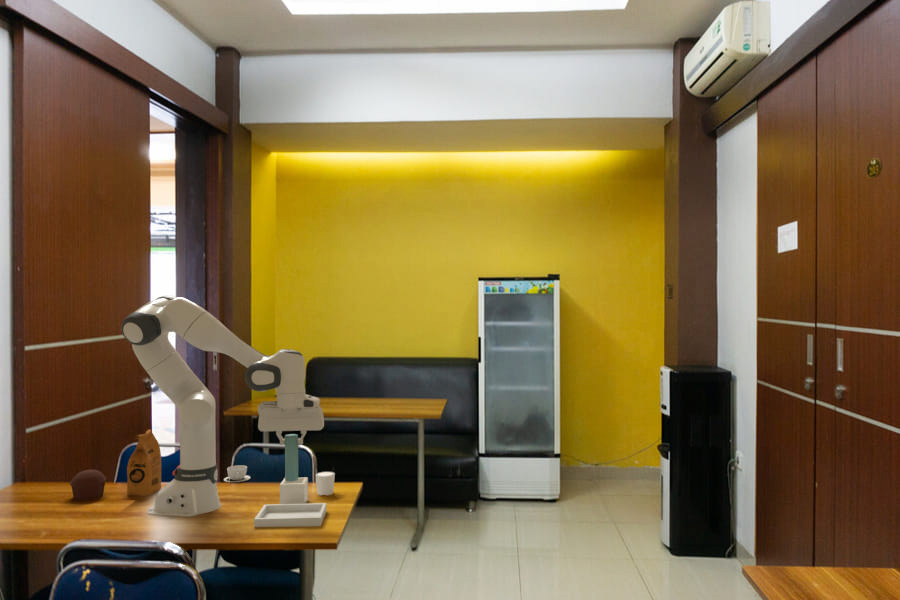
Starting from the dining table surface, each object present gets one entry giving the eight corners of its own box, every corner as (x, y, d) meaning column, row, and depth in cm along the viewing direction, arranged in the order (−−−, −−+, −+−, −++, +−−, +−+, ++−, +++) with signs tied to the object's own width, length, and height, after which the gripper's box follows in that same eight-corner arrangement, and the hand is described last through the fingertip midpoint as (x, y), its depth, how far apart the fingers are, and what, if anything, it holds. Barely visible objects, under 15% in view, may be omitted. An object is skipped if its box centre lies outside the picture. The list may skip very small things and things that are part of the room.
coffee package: (121, 498, 223) (121, 436, 223) (138, 488, 236) (138, 428, 236) (150, 498, 223) (149, 436, 223) (165, 488, 236) (165, 428, 236)
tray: (254, 529, 193) (254, 519, 193) (264, 513, 207) (264, 504, 207) (320, 527, 194) (320, 517, 194) (326, 512, 208) (326, 503, 208)
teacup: (223, 477, 250) (223, 465, 250) (249, 475, 254) (249, 463, 254) (224, 484, 241) (224, 472, 241) (251, 481, 245) (251, 469, 245)
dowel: (284, 481, 199) (283, 436, 199) (286, 478, 203) (286, 434, 203) (297, 481, 199) (296, 436, 199) (299, 477, 203) (298, 433, 203)
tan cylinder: (330, 496, 225) (330, 476, 225) (312, 495, 226) (312, 475, 226) (337, 490, 232) (337, 471, 232) (320, 489, 233) (320, 470, 233)
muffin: (100, 503, 218) (100, 474, 218) (64, 506, 215) (64, 476, 215) (110, 493, 230) (110, 465, 230) (76, 495, 227) (76, 467, 227)
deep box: (279, 508, 212) (279, 484, 212) (284, 500, 220) (284, 477, 220) (304, 507, 213) (304, 484, 213) (307, 500, 221) (307, 477, 221)
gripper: (255, 403, 197) (255, 447, 197) (322, 401, 198) (322, 446, 198) (260, 399, 203) (260, 443, 203) (324, 398, 205) (325, 441, 205)
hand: (291, 444), depth 201 cm, fingers closed on dowel, 4 cm apart
